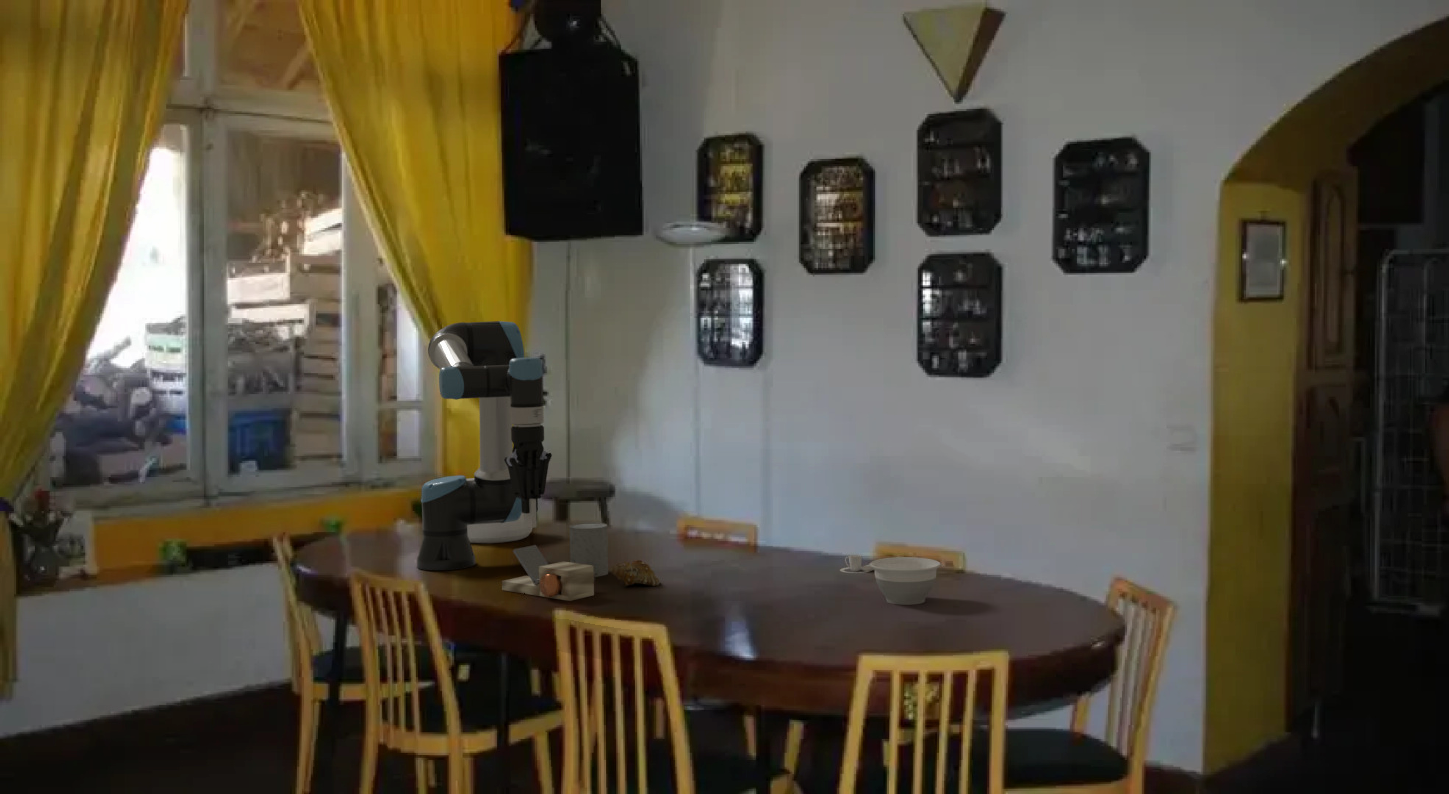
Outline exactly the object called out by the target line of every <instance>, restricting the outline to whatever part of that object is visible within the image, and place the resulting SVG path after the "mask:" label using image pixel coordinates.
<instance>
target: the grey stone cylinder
mask: <svg viewBox="0 0 1449 794" xmlns="http://www.w3.org/2000/svg"><path fill="white" fill-rule="evenodd" d="M568 528H569V543H570V545H569V546H570V547H569V548H570V549H569V550H570V551H569V553H570V562H571V563H578V564H585V565H592V566H593V572H594V574H595V578H597V577H603V576H606V575H609V562H608V559H609V558H608V557H609V556H608V530H607V529H608V524H606V523H604V522H603V523H601V522H582V523H581V522H580V523H573V524H571V525H569V526H568Z"/></svg>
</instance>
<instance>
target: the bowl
mask: <svg viewBox="0 0 1449 794" xmlns="http://www.w3.org/2000/svg"><path fill="white" fill-rule="evenodd" d="M869 565H870V566H871V567H873V568H874V570H873V571H874V578H875V582H876V584H877V585H878V588H879V590H880V592H881V593H882V594H883V596H884V597H885V599H886V602H887V603H889V604H893V605H900V606H901V605H902V606H903V605H905V606H907V605H908V606H909V605H911V606H912V605H920V604H923V603H925V602H926V598H927V596H928V595H929V594H930V592H931V590H932V589H933V587H934V585H935V582H936V578H937V569H938V568H940V567H941V566H942V564H941V562H939V561H938V560H936V559H932V558H925V557H924V558H923V557H916V556H915V557H912V556H911V557H910V556H909V557H908V556H907V557H906V556H903V557H902V556H897V557H887V558H886V557H885V558H884V557H883V558H879V559H875V560H873V561H870V562H869Z"/></svg>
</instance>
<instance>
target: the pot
mask: <svg viewBox="0 0 1449 794" xmlns="http://www.w3.org/2000/svg"><path fill="white" fill-rule="evenodd" d="M466 479H467V481H473V480H474V477H473V478H466ZM467 531H468V538H469V541H470V544H500V543H508V542H509V543H510V542H514V541H521V540H524V539H525V538H527V537H529V535H531V533H532V532H533V528H529V527H524V514H523V513H522V514H521V516H520V518H519V519H518V520H516V521H512V522H505V523H487V524H471V525H467Z"/></svg>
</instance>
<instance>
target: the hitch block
mask: <svg viewBox="0 0 1449 794" xmlns="http://www.w3.org/2000/svg"><path fill="white" fill-rule="evenodd" d="M548 564H549V565H544V566H540V567H539V584H538V585H534V584H533V581H532V580H531V578H530V577H529V575H523V576H519V577H513V578H510V579H505V580H501V589H502V591H506V592H510V593H511V592H513V593H518V594H524V593H525V595H531V596H538V597H543V598H549V599H555V600H562V601H569V602H571V601H575V600H579V599H584V598H587V597H592V596H595V585H594V583H595V581H594V574H593V566H592V565H585V564H578V563H571V561H570V562H569V561H559V562H554V563H548ZM548 574H556V575H557V576H561V584H562V588H561V592H560V593H559V594H558V595H556V596H552V597H546V596H544V595H543V593H542V592H541V589H540V580H541V578H542V577H543V576H544V575H548Z"/></svg>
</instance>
